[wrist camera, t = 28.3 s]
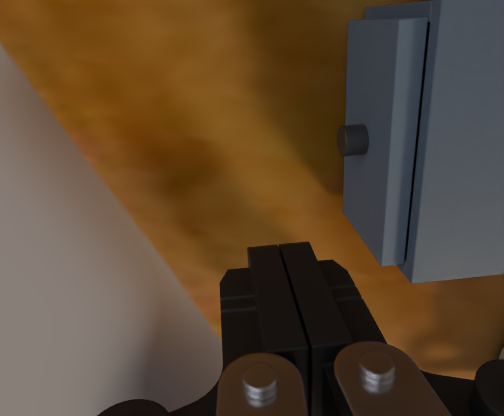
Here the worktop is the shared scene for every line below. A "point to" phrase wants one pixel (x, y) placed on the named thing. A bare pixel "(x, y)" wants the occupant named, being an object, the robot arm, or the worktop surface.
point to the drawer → (382, 129)
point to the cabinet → (457, 142)
